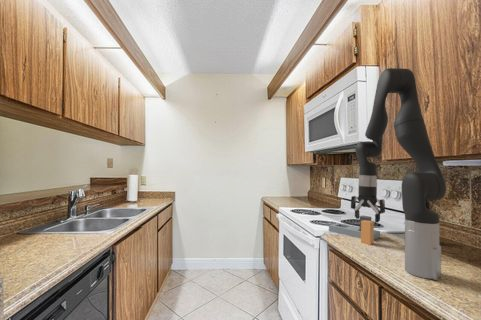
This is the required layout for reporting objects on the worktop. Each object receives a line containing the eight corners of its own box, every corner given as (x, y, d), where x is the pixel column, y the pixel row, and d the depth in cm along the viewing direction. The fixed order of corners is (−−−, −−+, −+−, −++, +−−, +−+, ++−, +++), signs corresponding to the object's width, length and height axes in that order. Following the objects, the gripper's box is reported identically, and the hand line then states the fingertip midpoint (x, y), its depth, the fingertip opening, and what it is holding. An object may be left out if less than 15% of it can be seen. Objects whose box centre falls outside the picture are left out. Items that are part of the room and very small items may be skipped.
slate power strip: (380, 237, 122) (380, 217, 122) (371, 240, 116) (371, 219, 116) (338, 228, 139) (338, 210, 139) (328, 230, 132) (329, 212, 133)
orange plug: (373, 243, 112) (373, 221, 112) (370, 245, 110) (370, 222, 110) (364, 241, 115) (364, 219, 116) (360, 242, 113) (361, 220, 113)
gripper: (348, 184, 116) (347, 218, 116) (381, 187, 105) (380, 224, 105) (355, 183, 121) (355, 216, 121) (387, 186, 110) (387, 222, 110)
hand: (367, 220), depth 113 cm, fingers open, 8 cm apart
